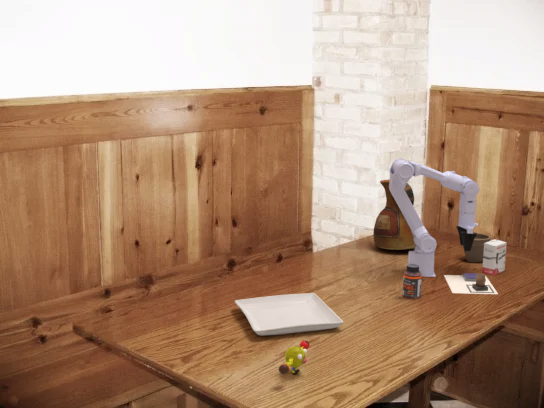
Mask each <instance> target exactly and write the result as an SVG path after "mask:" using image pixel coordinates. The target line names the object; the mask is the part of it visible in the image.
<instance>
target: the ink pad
mask: <svg viewBox="0 0 544 408" xmlns="http://www.w3.org/2000/svg"><path fill="white" fill-rule="evenodd" d="M477 273H478V272H477ZM477 273H476V272H475V273H472V272H471V273H470V272H469V273H468V272H466V273H465V272H464V273H462V274H461V275H462V276H463V278H464V280H465V281H467V282H476V274H477ZM485 282H486V279H485Z"/></svg>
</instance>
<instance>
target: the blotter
mask: <svg viewBox="0 0 544 408" xmlns="http://www.w3.org/2000/svg"><path fill="white" fill-rule="evenodd" d="M462 275H463V274H461V275H459V274H458V275H457V274H455V275H454V274H443V277H444V279H445V281H446V283H447V285H448V287H449V289H450V291H451V293H452V294H465V295H467V294H469V295H471V294H473V295H499V293H498V291H497V290H496V289H495V287H494V285H493V284H492V283H491V281H490V279H489V278H488V277H487V275H485V279H486V282H485V285H486V286H487V287H488V291H476V290H475V289H474V288H472V284H476V282H467V281H465V280H464V278H463V276H462Z"/></svg>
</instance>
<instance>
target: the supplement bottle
mask: <svg viewBox="0 0 544 408" xmlns="http://www.w3.org/2000/svg"><path fill="white" fill-rule="evenodd" d="M402 278H403V279H402V282H403V283H402V297H403V298H405V299H408V300H418V299H420V298H421V297H422V296H421V295H422V278H423V276H422V273H421V272H420V271H419V265H417V264H408V263H407V264H406V270H405V271H404V272H403V277H402Z"/></svg>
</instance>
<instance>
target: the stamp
mask: <svg viewBox="0 0 544 408" xmlns="http://www.w3.org/2000/svg"><path fill="white" fill-rule="evenodd" d="M485 276H486V273H482V272H477V274H476V284H472V288H474V289H475V290H476V291H488V287H487V286H486V285H485Z"/></svg>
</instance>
